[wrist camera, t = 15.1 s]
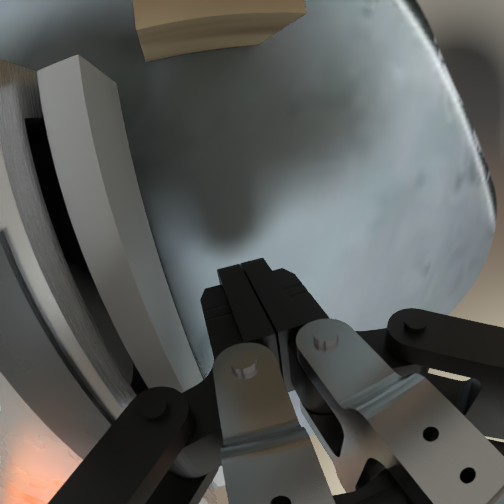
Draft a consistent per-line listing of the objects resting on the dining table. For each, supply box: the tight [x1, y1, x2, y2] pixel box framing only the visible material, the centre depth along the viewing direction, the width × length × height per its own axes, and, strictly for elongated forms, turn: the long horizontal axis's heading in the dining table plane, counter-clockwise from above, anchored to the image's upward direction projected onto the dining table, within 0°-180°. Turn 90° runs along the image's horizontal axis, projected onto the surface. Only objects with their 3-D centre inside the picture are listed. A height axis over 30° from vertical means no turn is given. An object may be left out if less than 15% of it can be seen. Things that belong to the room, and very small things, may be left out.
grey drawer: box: [30, 54, 225, 486], centre depth 8 cm, size 15×12×4 cm
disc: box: [66, 261, 133, 385], centre depth 9 cm, size 6×6×2 cm
